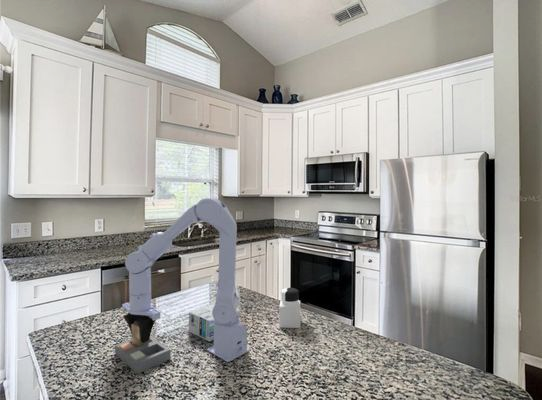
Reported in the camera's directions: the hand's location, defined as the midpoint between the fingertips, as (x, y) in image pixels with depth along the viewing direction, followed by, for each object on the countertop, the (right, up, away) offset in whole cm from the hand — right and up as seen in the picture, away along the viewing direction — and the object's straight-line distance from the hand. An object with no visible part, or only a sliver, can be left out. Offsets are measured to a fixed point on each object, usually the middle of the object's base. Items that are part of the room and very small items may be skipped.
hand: (140, 339), depth 85 cm
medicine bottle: (+44, -3, +17) cm, 48 cm away
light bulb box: (+14, 0, +15) cm, 21 cm away
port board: (+2, -3, -3) cm, 5 cm away
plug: (0, -2, 0) cm, 2 cm away
